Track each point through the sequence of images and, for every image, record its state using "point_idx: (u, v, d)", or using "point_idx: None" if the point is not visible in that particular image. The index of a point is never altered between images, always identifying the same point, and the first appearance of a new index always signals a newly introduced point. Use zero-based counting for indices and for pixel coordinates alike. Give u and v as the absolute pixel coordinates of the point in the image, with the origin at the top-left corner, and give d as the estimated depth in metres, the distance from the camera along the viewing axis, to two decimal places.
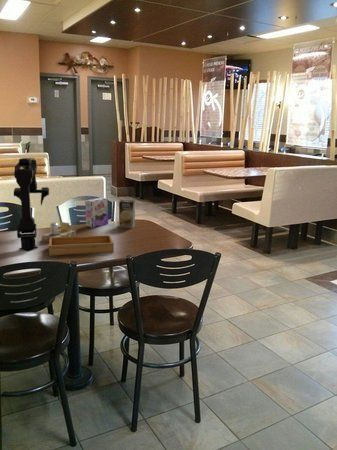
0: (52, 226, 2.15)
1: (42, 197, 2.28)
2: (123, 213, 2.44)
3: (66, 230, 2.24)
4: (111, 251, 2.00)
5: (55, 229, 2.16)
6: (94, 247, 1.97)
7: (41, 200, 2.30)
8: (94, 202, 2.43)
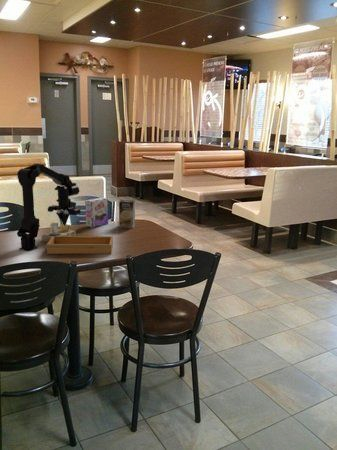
0: (52, 226, 2.15)
1: (63, 215, 2.21)
2: (123, 213, 2.44)
3: None
4: (108, 253, 1.97)
5: (55, 229, 2.16)
6: (92, 248, 1.96)
7: (63, 219, 2.22)
8: (94, 202, 2.43)
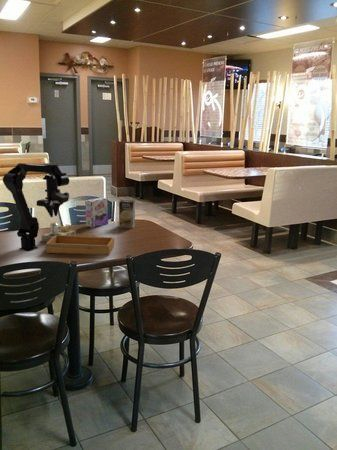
0: (52, 226, 2.15)
1: None
2: (123, 213, 2.44)
3: None
4: (106, 254, 1.95)
5: (55, 229, 2.16)
6: (89, 249, 1.95)
7: None
8: (94, 202, 2.43)
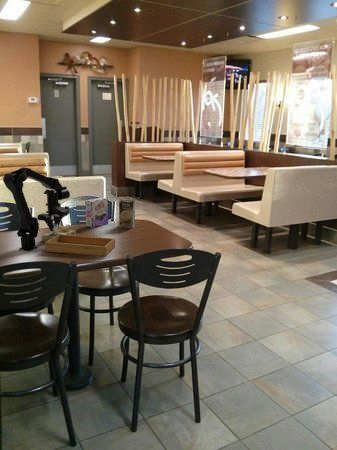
0: None
1: None
2: (123, 213, 2.44)
3: None
4: (103, 255, 1.94)
5: (55, 229, 2.16)
6: (87, 249, 1.94)
7: None
8: (94, 202, 2.43)
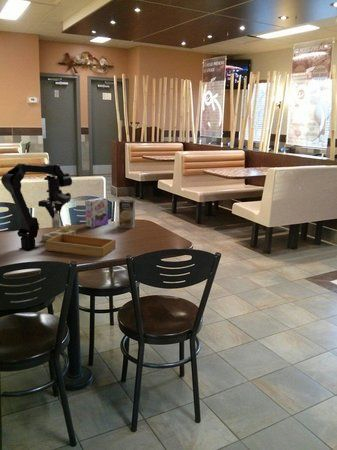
0: None
1: None
2: (123, 213, 2.44)
3: None
4: (100, 256, 1.92)
5: (56, 216, 2.13)
6: (84, 249, 1.94)
7: None
8: (94, 202, 2.43)
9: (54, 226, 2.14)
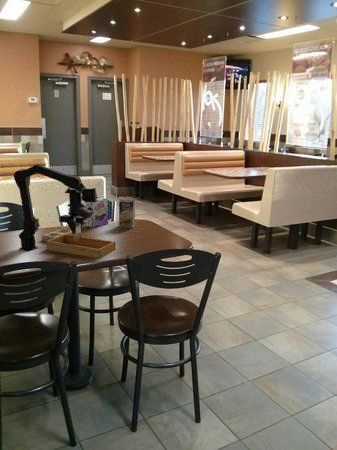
0: None
1: None
2: (123, 213, 2.44)
3: None
4: None
5: (78, 229, 2.00)
6: (83, 251, 1.93)
7: None
8: (94, 202, 2.43)
9: (75, 239, 2.01)
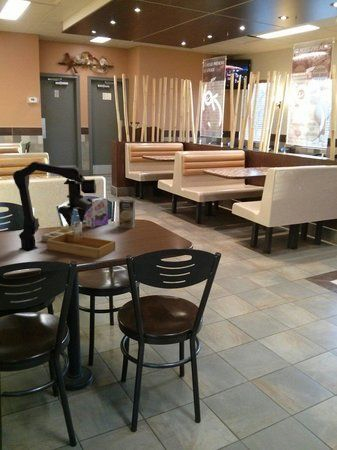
0: (76, 225, 1.99)
1: None
2: (123, 213, 2.44)
3: None
4: (96, 257, 1.91)
5: (79, 228, 1.99)
6: (82, 250, 1.93)
7: None
8: (94, 202, 2.43)
9: (76, 238, 2.00)
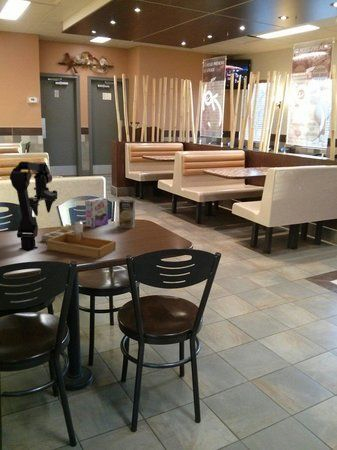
0: (77, 225, 1.98)
1: None
2: (123, 213, 2.44)
3: None
4: (97, 257, 1.91)
5: (80, 228, 1.99)
6: (82, 250, 1.93)
7: None
8: (94, 202, 2.43)
9: (78, 239, 2.00)
